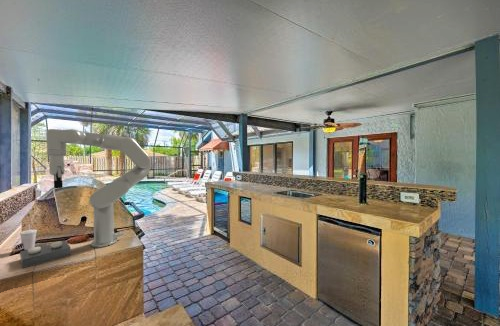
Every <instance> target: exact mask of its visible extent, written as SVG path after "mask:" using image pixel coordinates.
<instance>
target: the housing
mask: <svg viewBox="0 0 500 326" xmlns="http://www.w3.org/2000/svg"><path fill="white" fill-rule="evenodd" d="M61 242H62V246H61V247H58V248H51V244H52V243H49V244H46V245H43V246H42V245H41V246H40V247H41V251H40V252H38V253H34V254H28V250H21V251H20V252H19V257H20V262H21V266H22V269H25V268H28V267H33V266H36V265H39V264H42V263H47V262H50V261H55V260H57V259H60V258H65V257H68V256H71V254H72V251H71V246H70V244H68V242H67V241H66V240H63V241H61Z"/></svg>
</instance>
